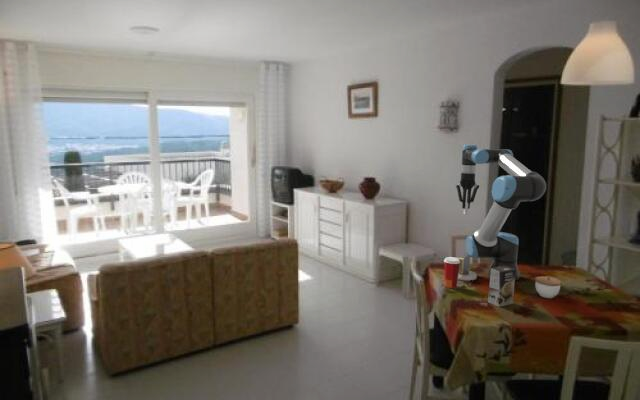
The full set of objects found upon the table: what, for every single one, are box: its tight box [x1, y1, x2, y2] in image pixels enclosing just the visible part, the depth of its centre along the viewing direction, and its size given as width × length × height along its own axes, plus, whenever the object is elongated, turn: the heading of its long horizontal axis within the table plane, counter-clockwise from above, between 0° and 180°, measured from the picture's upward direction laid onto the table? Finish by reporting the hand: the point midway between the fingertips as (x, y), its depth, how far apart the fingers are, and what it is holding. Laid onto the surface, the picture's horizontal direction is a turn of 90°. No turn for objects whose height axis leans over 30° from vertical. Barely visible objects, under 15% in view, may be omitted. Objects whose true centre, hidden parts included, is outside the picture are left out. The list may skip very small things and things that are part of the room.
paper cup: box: [443, 256, 460, 289], centre depth 222 cm, size 8×8×14 cm
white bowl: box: [534, 275, 562, 299], centre depth 211 cm, size 11×11×9 cm
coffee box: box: [487, 266, 516, 307], centre depth 201 cm, size 9×6×16 cm
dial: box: [457, 252, 471, 275], centre depth 237 cm, size 14×6×9 cm, turn 146°
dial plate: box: [457, 270, 478, 282], centre depth 238 cm, size 14×14×2 cm
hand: (465, 214), depth 254 cm, fingers closed
